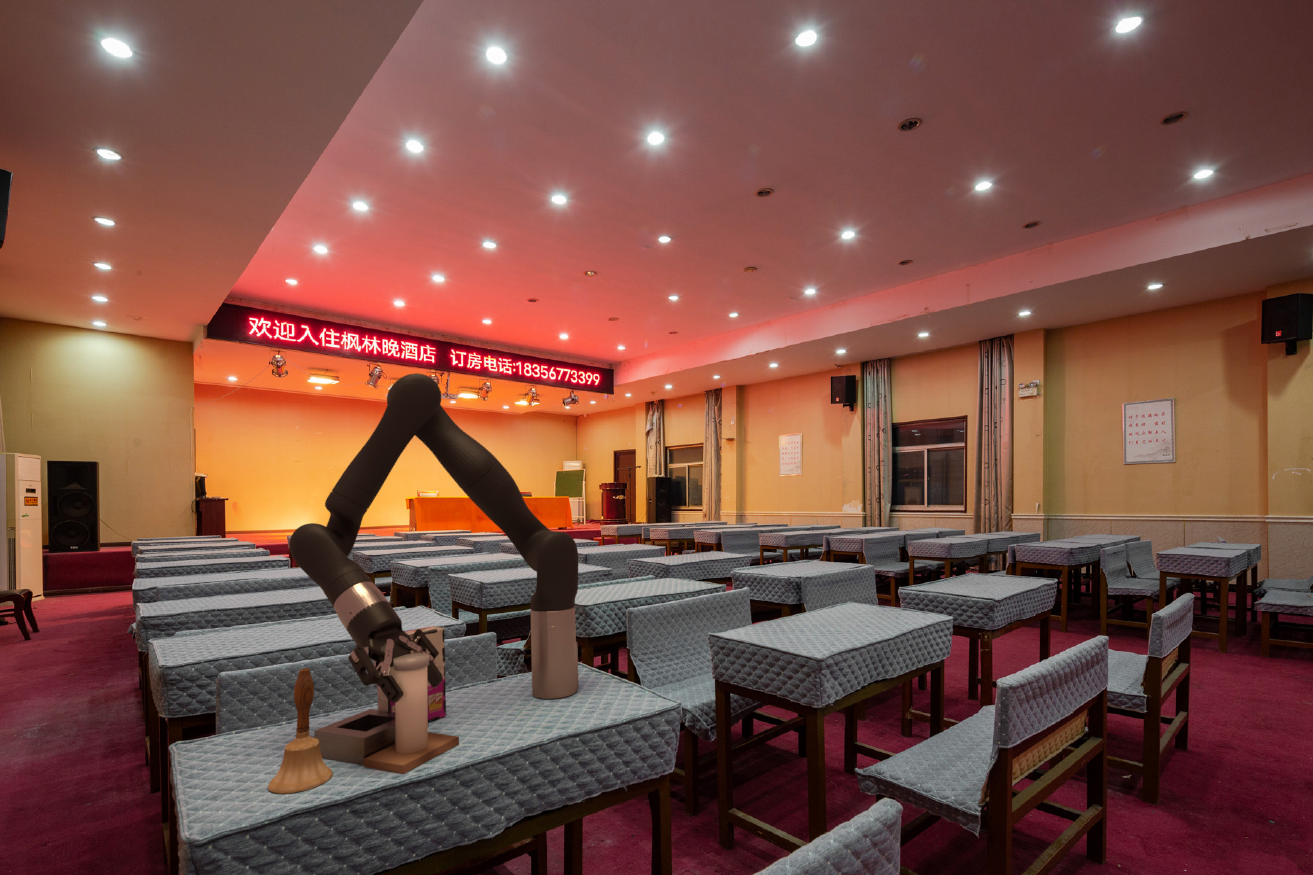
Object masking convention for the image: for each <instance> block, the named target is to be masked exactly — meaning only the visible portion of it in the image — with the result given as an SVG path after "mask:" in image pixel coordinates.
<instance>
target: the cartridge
mask: <svg viewBox="0 0 1313 875" xmlns="http://www.w3.org/2000/svg"><path fill="white" fill-rule="evenodd" d="M428 665H429V654H426V653H414V654H406V655H403V656H400V657H397V658H394V659H393V669H394V670H395V681H396V682H397V684H398V685H399V686H400V688H401V689H402V691H403V696H402V697H401V699H400V700H399V701H398V702H396V703H395V751H396V752H397V753H400V754H409V753H415V752H418V751H421V750H423V749H425V748H426V747H427V746H428V732H429V730H428V729H429V728H428V727H429V726H428V725H429V722H428V696H427V666H428Z"/></svg>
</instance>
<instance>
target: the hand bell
mask: <svg viewBox="0 0 1313 875" xmlns="http://www.w3.org/2000/svg"><path fill="white" fill-rule="evenodd" d="M314 694H315V685H314V680H313V677H312V674H311V669H310V668H308V667H304V668H301V669H299V672H298V676H297V679H296V681H295V684H294V688H293V699H294V700H293V701H294V706H295V709H296V712H297V713H296V714H297V718H296V731H295V732H296V733H295V738H294V739H293V740H291V741H289V742H288V743H287V744H286V745H284V746H285V747H284V751H283V757H282V761H281V765H280V767H279V770H278V771H277V773H276V774H275V776H274V777H273V778H272V779H271V780H270V782H269V784H268V785H267V789H268V791H270V792H271V793H274V794H282V795H284V794H285V795H286V794H294V793H300V792H304V791H308V790H312V789H315V788H317V787H319V786H322V785H323V784H325V783H327V782H329V781H330V780H331V779H332V778H333V775H334V773H333V770H332V769H331V768H330V766H327V765H326V763H325V761H324V758H322V756H321V752H320V744H319V740H318V739H316V738H314V737H312V736H311V735H310V729H311V728H310V709H311V706H312V703H313V700H314Z"/></svg>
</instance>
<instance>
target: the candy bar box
mask: <svg viewBox="0 0 1313 875" xmlns="http://www.w3.org/2000/svg"><path fill="white" fill-rule="evenodd" d="M417 629H418V628H415V629H410V630H404V632H405V633H406V634H408V635H410V634H413V633H414V632H415V631H416V630H417ZM419 629H420V630H422V632H423V633H424V634H425V635H426V637H427V638H428V639H429V640H430V642H431V643H432V644H433V646H434V647H435V648H436V649H437V651H438V652H439V654H438V656H437V657H436V658H435V659H434V660H433V662H434V664H435V665H436V667H437V668H438V670H439V671H440V672H441V674H442V677H443V680H442V682H441V683H440V684H439V685H438V686H437V687H434V688H433V687H432V686H431V684H430V683H429V682H428V680H427V696H428V723H429V722H433V721H436V720H439V719H442V718H446V716H447V701H446V700H447V695H446V694H447V692H446V690H447V689H446V648H445V647H446V646H445V628H444V627H441V626H435V625H431V626H426V627H425V626H424V627H421V628H419ZM426 652H427V653H428V654H430V652H429V651H428V650H426ZM411 654H414V652H413V651H411ZM390 675H392V676H393V678H394V679H395V670H394V669H393V667H391V668H390V672H389V675H388V676H390ZM377 710H382V711H389V712H395V703H392V702H391V701H390V700H388V699H387V697H386V695H385V694H384V693H383V691H382V690H381V688H380V687H379V686H377Z"/></svg>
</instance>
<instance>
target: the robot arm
mask: <svg viewBox="0 0 1313 875" xmlns="http://www.w3.org/2000/svg"><path fill="white" fill-rule="evenodd" d="M441 403H442V392H441V389H440V386H439V385H438V383H437V382H436V381H435V379H433V378H432V377H430V376H429V375H426V374H424V373H410V374H406V375H404V376H402V377H400V378H399V379H398V380H396V381H395V382H394V383H393V384H392V385H391V386H390V388H389V390H388V392H387V395H386V408H385V410H384V412H383V415H382V417H381V418H380V421H379V422H378V424H377V426H376V427H375V429H374V430H373V433H371V435H370V436H369V438H368V440H367V441H366V442H365V443H364V444H363V446H362V448H361V449H359V451H358V453H357V454H356V455H355V457H354V458H353V459H352V460H351V461H350V463H349V464H348V466H347V467H346V468H345V470H344V471H343V472H342V474H341V475H340V477H339V479H338V480H337V481H336V483H335V485H334V486H333V488H332V490H331V491H330V492H329V494H328V496H327V497H326V500H325V502H324V506H325V508H326V510H327V511H328V512H329V519H328V521H327V523H326V525H323V524H320V523H315V522H312V523H306V524H302V525H300V526H299V527H297V528H296V529H295V530H294V531H293V533H292V534H291V536H290V538H289V552H290V554H291V557H292V559H293V561H294V562H295V563H296V564H297V565H298V567H299V568H300V569H301V570H302V572H304V573H305V574H306V575H307V576H308V577H309V578H310V579H311V580H312V581H313V582H314V583H315V584H317V586H319V587H320V589H321V590H322V592H323V593H324V595H325V596H326V598H327V600H328V601H329V603H330V604H331V605H332V607H333V609H334V610H335V612H336V615H337V617H338V619H339V621H340V623H341V625H342V626H343V627H344V628H345V630H346V631H347V633H348V634H349V636H350V637H351V639H352V641H353V643H355V647H354V648H353V650H352V651H351V653H350V654H349V656H348V657H347V658H348V660H349V663H350V664H351V666H352V668H353V669H354V671H355V673H356V675H357V676H358V678H359V680H360V682H361V683H362V684H363V686H365V687H368V686H370V685H371V684H372V685H373V684H374V685H375V686H376V687H378V686H379V687H380V688H381V690H382V691H383V693H384V694H385V695H386V697H387V699H388V700H390V701H391V702H392V703H396V702H398V701H399V700H400V699H401V697H402V696H403V691H402V689H401V688H400V686H399V685H398V684H397V682H396V681H395V679H394V678H393V676H392V675H390V676H388V675H389V672H390V668H391V667H393V659H394V658H397V657H400V656H403V655H406V654H411V651H413V652H414V653H426V654H428V653H427V652H426V650H428V651H429V652H430V654H429V665H428V666H427V680H428V682H429V683H430V684H431V686H432V687H433V688H434V687H437V686H438V685H439V684H440V683H441V682H442V680H443V677H442V674H441V672H440V671H439V670H438V668H437V667H436V665H435V664H434V662H433V660H434V659H435V658H436V657H437V656H438V654H439V652H438V651H437V649H436V648H435V647H434V646H433V644H432V643H431V642H430V640H429V639H428V638H427V637H426V635H425V634H424V633H423V632H422V630H420V628H416V629H417V630H416V631H415V632H414V633H413V634H410V635H408V634H406V633H405V630H403V621H402V619H401V617H400V616H399V615H398V613H397V612H396V610H395V609H394V608H393V606H392V604H390V602H389V601H388V599H387V598H386V595H384V593H383V592H382V590H380V589H379V588H378V587H377V586H376V585H375V584H374V583H373V581H372V579H371V578H370V577H369V576H368V574H367V572H366V571H365V570H364V568H363V567H362V566H361V565H360V564H359V563H358V562H356V561H354V560H353V559H351V558H350V557H349V555H350V554H351V553H352V550H353V548H354V546H355V543H356V540H357V537H358V534H359V532H360V528H361V525H362V522H363V518H364V516H365V514H366V513H367V512H368V509H369V508H370V507H371V506H372V504H373V502H374V501H375V498H376V497H377V495H378V494H379V492H380V491H381V489H382V487H383V486H384V484H385V482H386V480H387V479H388V476H389V475H390V474H391V472H392V470H393V468H394V466H395V465H396V463H397V462H398V460H399V458H400V457H401V455H402V454H403V452H404V450H405V449H406V448H407V446H408V445H409V443H410V442H411V441H412V440H413V438H414V437H416V438H417V439H419V441H421V442H422V443H423V444H424V445H425V447H427V448H428V449H429V451H430V452H431V453H432V454H433V456H434V457H435V458H436V459H437V461H438V462H439V463H440V465H441V466H442V468H444V470H445V471H446V472H447V473H448V474H449V476H450V477H451V478H452V480H453V481H454V482H455V484H457V486H458V487H459V488H460V489H461V490H462V491H463V492H464V494H465V495H466V496H467V497H468V498H469V500H471V502H472V503H473V504H475V505H476V506H477V507H478V508H479V509H480V510H481V512H482V513H483V514H485V516H486V517H487V518H488V519H489V520H490V521H492V523H493V524H495V525H496V526H497V527H498V528H499V529H500V530H501V531H502V532H503V533H504V535H506V537H507V538H508V540H509V541H510V542H511V543H512V545H513V546H514V547H515V549H516V550H517V552H518V554H519V555H520V556H521V558H523V560H524V562H525V563H526V564H527V565H528V567H529V568H530V569H532V570H533V571H534V572H536V588H535V591H534V592H533V594H531V597H530V640H531V641H530V642H531V647H530V648H531V689H532V691H531V692H532V693H531V694H532V696H533V697H534V698H538V699H546V700H548V699H549V700H551V699H560V698H566V697H570V696H573V695H574V694H576V692H577V691H578V688H579V657H578V654H579V653H578V651H579V650H578V641H576V640H577V639H576V638H577V637H576V634H577V633H576V597H577V594H578V590H579V552H578V547H577V544H576V542H575V540H574V538H573V537H572V536H571V535H570V534H568V533H567V532H566V533H565V532H564V531H557V530H556V531H555V530H551V529H549V528H548V527H547V526H546V525H545V524H543V523H542V521H541V520H540V519H539V518H538V517H537V516H536V515H535V514H534V513H533V512H532V511H531V510H530V507H528V505H527V503H526V502H525V499H524V497H523V495H522V493H521V490H520V489H519V487H518V484H517V483H516V481H515V479H514V477H513V476H512V475H511V474H510V473H509V471H508V470H507V468H505V467H504V466H503V464H502V463H501V462H500V461H499V460H498V458H497V457H496V456H495V454H492V452H491V451H489V450H488V449H487V448H486V447H485V446H484V445H483V444H481V443H480V442H478V441H477V440H476V439H475V438H474V437H472V436H470V435H469V434H468V433H466V432H465V431H464V430H463V429H461V428H460V427H459V425H457V424H456V422H455V421H454V420H453V419H452V418H451V416H449V414H448V413H447V412H446V410H445V409H444V408H443V406H442V404H441Z"/></svg>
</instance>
